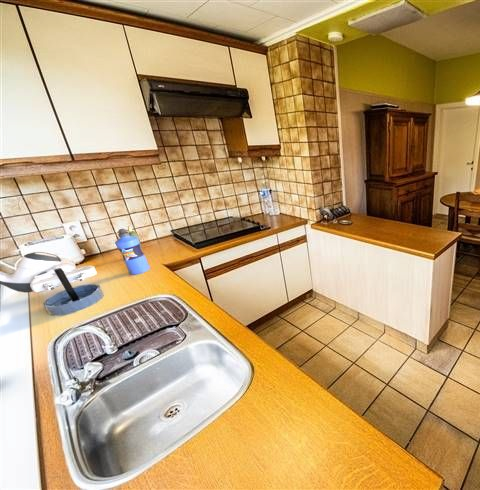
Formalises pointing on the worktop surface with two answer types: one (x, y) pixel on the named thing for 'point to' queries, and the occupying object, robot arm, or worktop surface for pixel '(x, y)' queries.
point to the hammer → (67, 285)
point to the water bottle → (132, 253)
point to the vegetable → (132, 233)
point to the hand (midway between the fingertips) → (66, 283)
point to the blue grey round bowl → (61, 306)
